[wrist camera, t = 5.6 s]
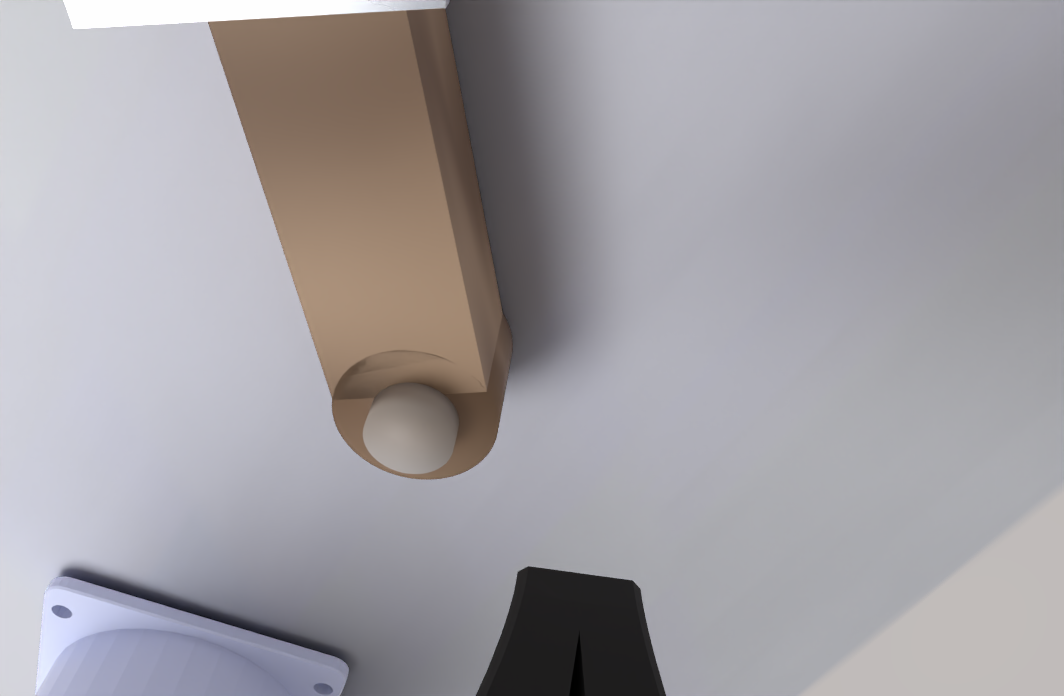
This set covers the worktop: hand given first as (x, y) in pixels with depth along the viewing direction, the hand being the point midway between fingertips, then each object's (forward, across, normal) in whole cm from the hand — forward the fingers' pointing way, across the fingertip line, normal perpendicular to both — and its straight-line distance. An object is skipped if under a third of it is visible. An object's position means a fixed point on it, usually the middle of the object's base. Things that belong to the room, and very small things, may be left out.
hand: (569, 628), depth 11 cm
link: (+8, +4, -2) cm, 9 cm away
